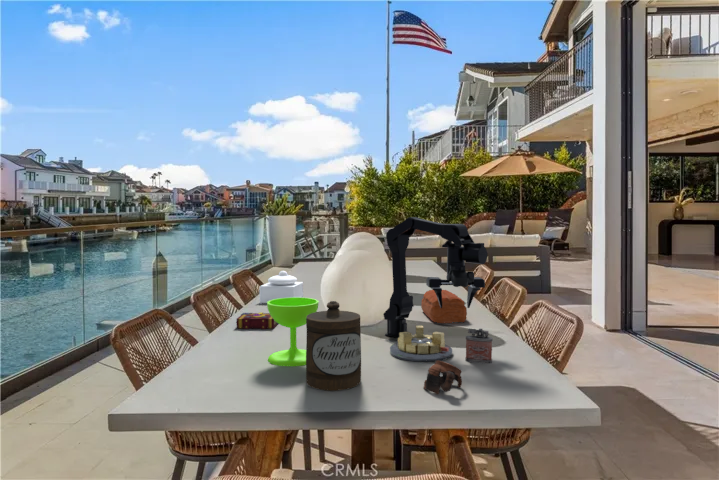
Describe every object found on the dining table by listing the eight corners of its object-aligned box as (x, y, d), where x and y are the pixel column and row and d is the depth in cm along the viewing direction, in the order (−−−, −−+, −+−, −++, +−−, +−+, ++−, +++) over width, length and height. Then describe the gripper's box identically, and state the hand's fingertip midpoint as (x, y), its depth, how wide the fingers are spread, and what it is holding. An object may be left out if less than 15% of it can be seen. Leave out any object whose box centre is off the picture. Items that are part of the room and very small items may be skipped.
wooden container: (316, 394, 130) (316, 308, 129) (299, 377, 144) (298, 298, 143) (370, 386, 136) (370, 303, 135) (348, 370, 150) (348, 295, 149)
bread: (452, 310, 240) (453, 288, 239) (469, 323, 213) (469, 297, 212) (419, 311, 238) (419, 288, 238) (431, 324, 212) (431, 298, 211)
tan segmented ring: (389, 349, 166) (389, 332, 165) (410, 339, 178) (410, 323, 178) (438, 357, 157) (438, 339, 156) (456, 346, 169) (456, 329, 169)
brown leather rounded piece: (416, 386, 138) (427, 357, 140) (447, 401, 139) (458, 371, 141) (431, 390, 126) (443, 358, 128) (465, 405, 127) (476, 373, 129)
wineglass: (277, 369, 151) (276, 308, 150) (261, 355, 165) (260, 299, 164) (327, 361, 158) (327, 303, 157) (307, 349, 172) (307, 295, 171)
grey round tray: (378, 355, 165) (378, 342, 165) (407, 342, 182) (407, 330, 182) (437, 365, 154) (437, 351, 154) (461, 350, 171) (461, 337, 171)
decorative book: (274, 329, 202) (274, 317, 202) (233, 329, 202) (232, 317, 202) (279, 323, 213) (279, 311, 213) (240, 323, 214) (240, 311, 213)
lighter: (492, 361, 159) (493, 328, 159) (491, 364, 156) (492, 331, 155) (466, 358, 162) (466, 327, 161) (464, 361, 159) (465, 329, 158)
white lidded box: (259, 303, 258) (259, 272, 257) (271, 297, 276) (271, 268, 275) (293, 304, 255) (293, 272, 254) (303, 298, 273) (303, 268, 272)
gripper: (433, 264, 164) (432, 312, 165) (490, 264, 165) (489, 312, 166) (426, 260, 175) (425, 306, 177) (480, 260, 177) (479, 306, 178)
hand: (454, 307), depth 174 cm, fingers open, 9 cm apart
